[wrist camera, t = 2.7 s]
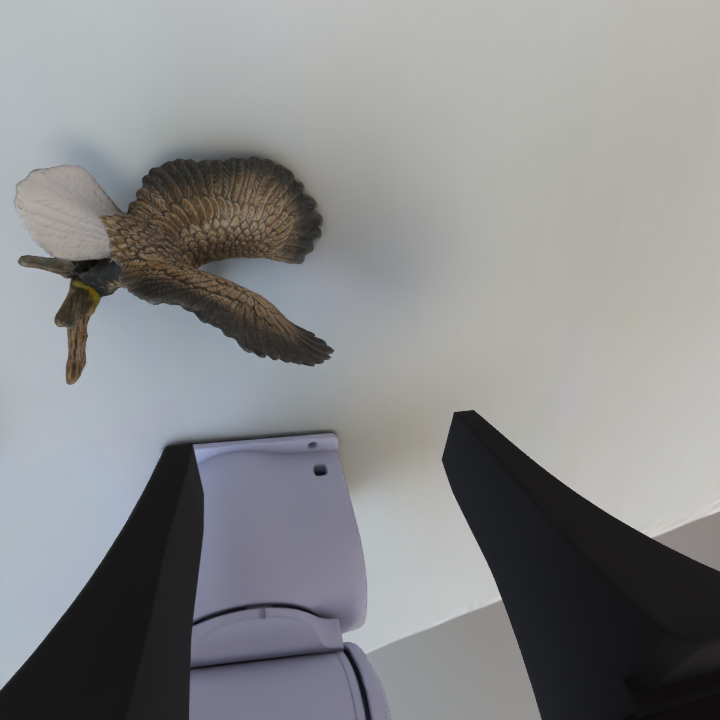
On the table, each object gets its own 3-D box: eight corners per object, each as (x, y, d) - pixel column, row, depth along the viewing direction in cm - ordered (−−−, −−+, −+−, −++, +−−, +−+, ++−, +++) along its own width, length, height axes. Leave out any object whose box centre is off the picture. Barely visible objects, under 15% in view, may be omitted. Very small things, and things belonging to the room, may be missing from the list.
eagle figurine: (126, 374, 19) (337, 363, 19) (-11, 398, 12) (329, 381, 12) (110, 191, 18) (327, 182, 19) (-41, 101, 11) (313, 87, 11)
